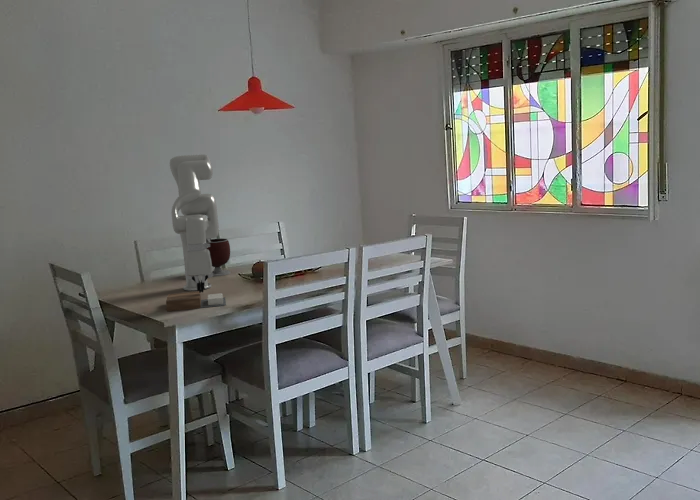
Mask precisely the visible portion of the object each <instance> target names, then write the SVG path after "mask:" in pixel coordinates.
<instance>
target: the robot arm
mask: <svg viewBox="0 0 700 500" xmlns="http://www.w3.org/2000/svg"><path fill="white" fill-rule="evenodd" d="M169 167H170V168H169V169H170V172H171V174H172V176H173V179H174V180H175V183H176V185H177V190H178V196H177V198H176V199H175V200H174V202H173V204H172V207H171V221H172V223H171V224H172V229H173V232H174V233H175V234H177V235H179V236H180V239H181V245H182V252H183V262H184V265H183V266H184V272H185V283H186V284H185V285H183V286H182V289H183V290H184V291H188V292H195V291H196V292H197V291H199V293H200V294H201V293H204V291H205V290H207V289H210V288H212V283H210V282H208V281H209V280H208V279H210V278H212V277H213V278H214V276H213V272H212V271H213V266H212V263H211V256H210V252H209V250H208V249H207V248H208V247H210V244H207V243H206V239H217V237H218V236H219V235H220V227H219V219H218V208H217V203H216V198H215V197H214V196H215V195H212V194H211V193H202V192H201V185H200V181H206V180H211V179H212V177H213V166H212V162H211V159H210V157H209V156H208V154H186V155H177V156H174V157H173V156H172V158H170V160H169ZM179 211H180V212H181V214H182V215H179Z"/></svg>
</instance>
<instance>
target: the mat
mask: <svg viewBox="0 0 700 500" xmlns="http://www.w3.org/2000/svg"><path fill="white" fill-rule="evenodd" d="M224 305H226V306H227V303H226V297H223V304H216V305H208V298H207V299H204V298H203V299H201V308H200V309H204V308H205V309H206V308H214V307H224Z"/></svg>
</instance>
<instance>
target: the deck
mask: <svg viewBox="0 0 700 500" xmlns="http://www.w3.org/2000/svg"><path fill="white" fill-rule="evenodd" d="M201 300H202V295H201V293H199V290H198V291H197V290H196V291H188V292H177V293H168V294H167V296H166V301H165V305H166V312H174V311H184V310H185V311H186V310H195V309H202V308H201Z"/></svg>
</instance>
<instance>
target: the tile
mask: <svg viewBox="0 0 700 500" xmlns="http://www.w3.org/2000/svg"><path fill="white" fill-rule="evenodd" d="M223 298H224V295H223V293H211V294H207V299H208V305H216V304H223Z"/></svg>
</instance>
